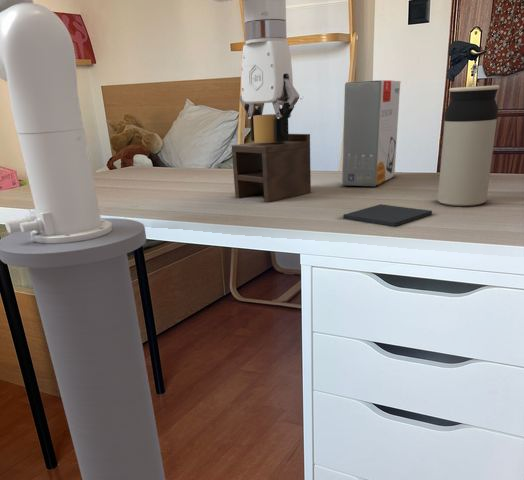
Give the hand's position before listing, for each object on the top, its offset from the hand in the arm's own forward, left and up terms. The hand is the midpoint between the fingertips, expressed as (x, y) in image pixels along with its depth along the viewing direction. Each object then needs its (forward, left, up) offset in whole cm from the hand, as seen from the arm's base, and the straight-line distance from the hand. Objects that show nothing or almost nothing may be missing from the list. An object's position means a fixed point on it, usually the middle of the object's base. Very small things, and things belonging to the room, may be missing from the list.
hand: (269, 139), depth 103 cm
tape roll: (0, 0, 0) cm, 0 cm away
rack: (0, 0, -11) cm, 11 cm away
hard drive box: (+23, -7, -11) cm, 27 cm away
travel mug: (+12, -35, -11) cm, 39 cm away
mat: (-4, -31, -11) cm, 33 cm away
